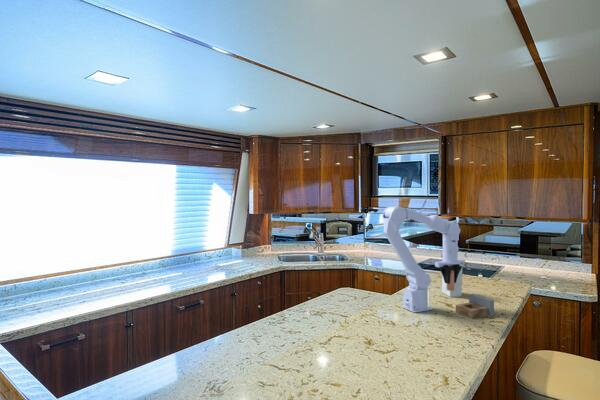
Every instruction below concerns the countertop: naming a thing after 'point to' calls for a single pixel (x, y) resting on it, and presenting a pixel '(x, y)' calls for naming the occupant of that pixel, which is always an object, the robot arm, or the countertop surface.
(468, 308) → the block
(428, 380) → the countertop surface
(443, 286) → the skincare box
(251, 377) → the countertop surface
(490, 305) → the backstop wall
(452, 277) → the dowel
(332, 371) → the countertop surface
